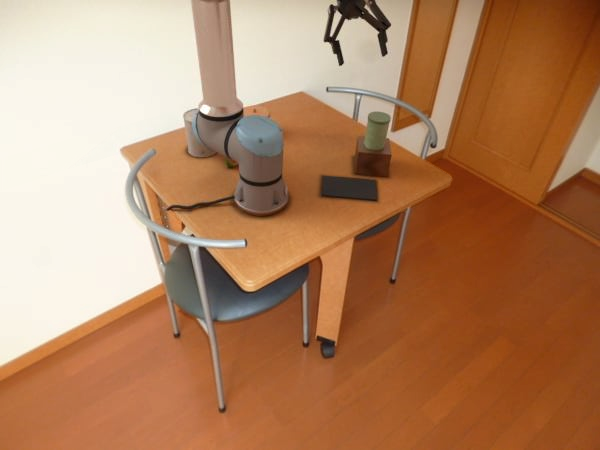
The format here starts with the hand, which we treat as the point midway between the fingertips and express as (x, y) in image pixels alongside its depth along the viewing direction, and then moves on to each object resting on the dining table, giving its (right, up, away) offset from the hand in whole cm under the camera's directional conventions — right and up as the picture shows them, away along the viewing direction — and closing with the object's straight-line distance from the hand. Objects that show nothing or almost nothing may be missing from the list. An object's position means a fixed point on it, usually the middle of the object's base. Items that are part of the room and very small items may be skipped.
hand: (363, 60), depth 122 cm
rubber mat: (-4, -37, +3) cm, 38 cm away
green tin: (+4, -23, +8) cm, 25 cm away
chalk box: (-38, -26, +12) cm, 48 cm away
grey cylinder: (-51, -23, +16) cm, 58 cm away
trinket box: (-35, -16, +26) cm, 46 cm away
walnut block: (+4, -29, +13) cm, 32 cm away
